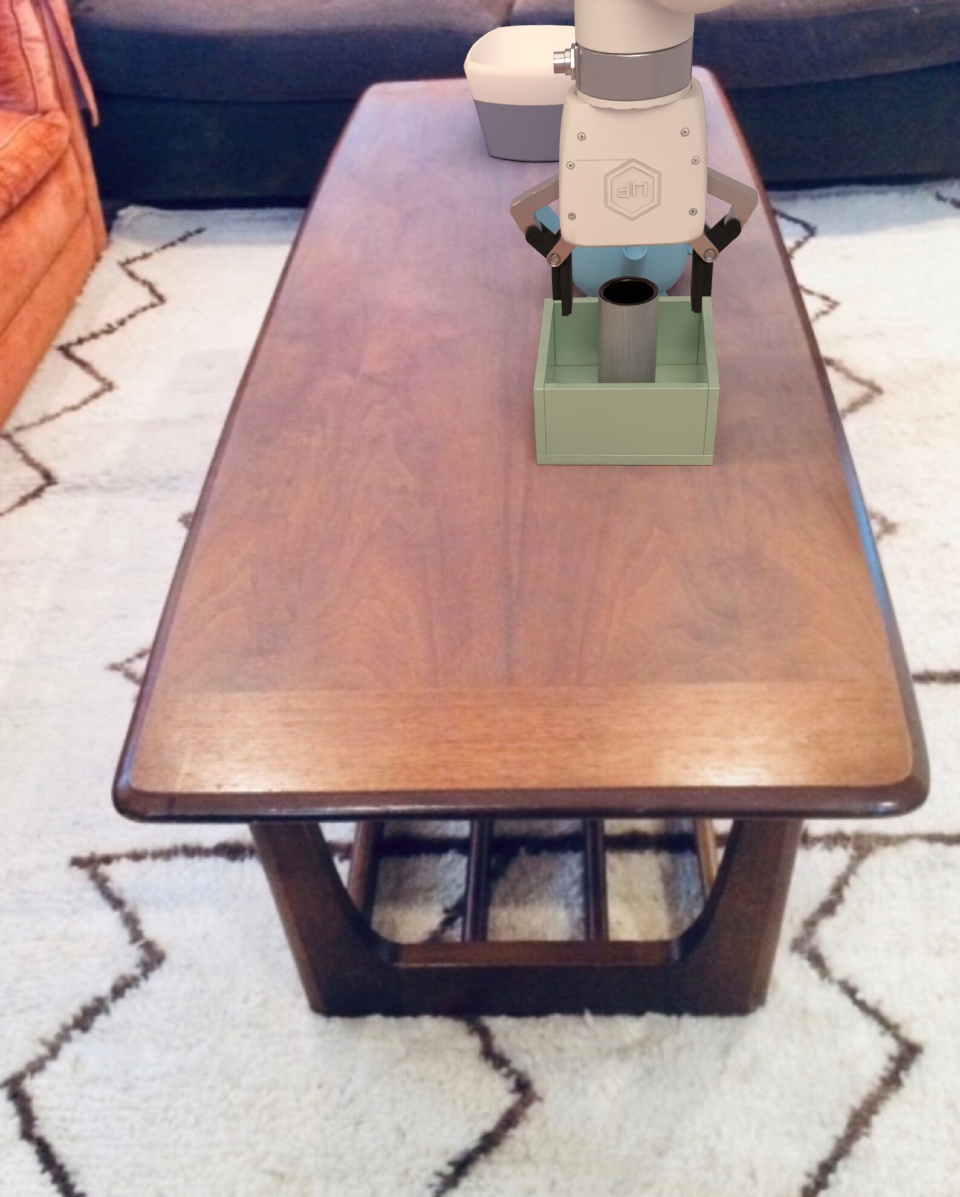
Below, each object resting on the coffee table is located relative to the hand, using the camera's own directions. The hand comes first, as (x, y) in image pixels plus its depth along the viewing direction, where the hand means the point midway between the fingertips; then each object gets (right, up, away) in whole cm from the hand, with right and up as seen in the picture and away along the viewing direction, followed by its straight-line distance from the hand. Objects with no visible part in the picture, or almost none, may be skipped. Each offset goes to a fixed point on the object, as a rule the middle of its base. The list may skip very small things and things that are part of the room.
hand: (631, 305), depth 83 cm
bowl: (-4, +33, +49) cm, 59 cm away
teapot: (+2, +8, +23) cm, 25 cm away
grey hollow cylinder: (0, -7, +7) cm, 9 cm away
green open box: (0, -7, +7) cm, 10 cm away
